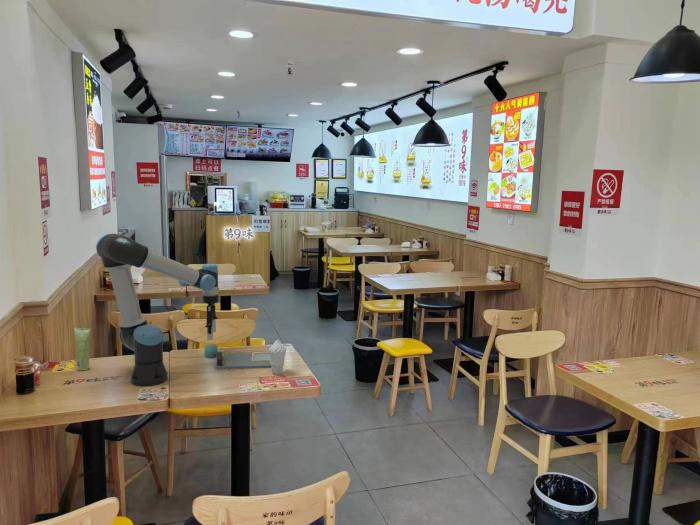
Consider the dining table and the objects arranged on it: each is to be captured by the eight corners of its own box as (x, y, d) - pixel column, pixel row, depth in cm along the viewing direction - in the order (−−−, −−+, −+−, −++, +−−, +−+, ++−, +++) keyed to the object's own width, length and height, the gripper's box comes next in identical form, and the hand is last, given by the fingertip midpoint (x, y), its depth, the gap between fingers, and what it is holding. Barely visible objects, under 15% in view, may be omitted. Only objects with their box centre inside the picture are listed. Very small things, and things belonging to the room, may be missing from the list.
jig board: (215, 369, 245) (215, 365, 244) (219, 355, 264) (219, 352, 264) (279, 367, 249) (279, 363, 249) (278, 354, 269) (278, 351, 268)
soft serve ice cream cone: (284, 376, 237) (285, 343, 235) (266, 376, 237) (266, 342, 235) (287, 370, 245) (287, 338, 243) (269, 370, 245) (270, 337, 243)
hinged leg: (222, 365, 246) (222, 353, 245) (216, 365, 245) (216, 353, 244) (224, 356, 260) (224, 344, 259) (218, 356, 259) (218, 344, 258)
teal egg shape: (203, 358, 260) (203, 347, 259) (205, 354, 266) (205, 344, 265) (216, 358, 261) (216, 347, 260) (218, 354, 267) (218, 343, 266)
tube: (89, 366, 244) (87, 326, 241) (92, 369, 240) (90, 328, 237) (75, 368, 240) (74, 327, 237) (78, 371, 236) (76, 330, 234)
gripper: (215, 299, 248) (216, 342, 251) (220, 289, 272) (221, 328, 275) (199, 300, 246) (200, 343, 250) (206, 289, 271) (207, 329, 274)
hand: (211, 335), depth 262 cm, fingers open, 13 cm apart
